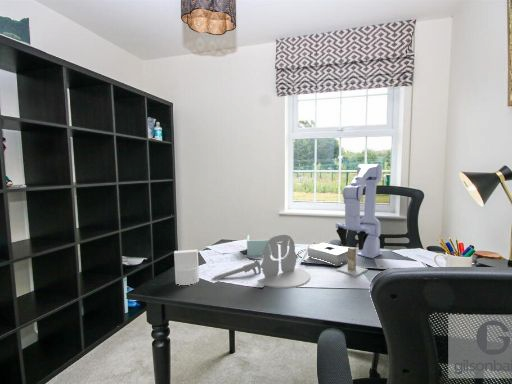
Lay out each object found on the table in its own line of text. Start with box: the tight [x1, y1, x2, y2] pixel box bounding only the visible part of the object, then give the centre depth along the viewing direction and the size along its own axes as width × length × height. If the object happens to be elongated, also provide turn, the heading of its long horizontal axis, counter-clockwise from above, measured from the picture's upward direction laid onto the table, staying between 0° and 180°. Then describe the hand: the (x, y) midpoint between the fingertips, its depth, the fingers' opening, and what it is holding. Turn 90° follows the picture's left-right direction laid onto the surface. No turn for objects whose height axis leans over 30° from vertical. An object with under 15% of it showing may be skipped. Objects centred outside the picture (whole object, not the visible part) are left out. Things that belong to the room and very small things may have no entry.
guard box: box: [307, 242, 349, 267], centre depth 131 cm, size 12×16×5 cm
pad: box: [336, 263, 368, 277], centre depth 116 cm, size 9×9×1 cm
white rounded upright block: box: [173, 249, 200, 286], centre depth 109 cm, size 9×9×12 cm
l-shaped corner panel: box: [246, 234, 272, 257], centre depth 144 cm, size 12×12×8 cm
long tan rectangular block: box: [347, 246, 357, 271], centre depth 115 cm, size 2×2×9 cm
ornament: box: [257, 234, 311, 289], centre depth 107 cm, size 22×13×17 cm, turn 123°
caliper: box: [211, 258, 262, 280], centre depth 112 cm, size 20×1×6 cm, turn 108°
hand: (352, 247), depth 115 cm, fingers open, 7 cm apart
